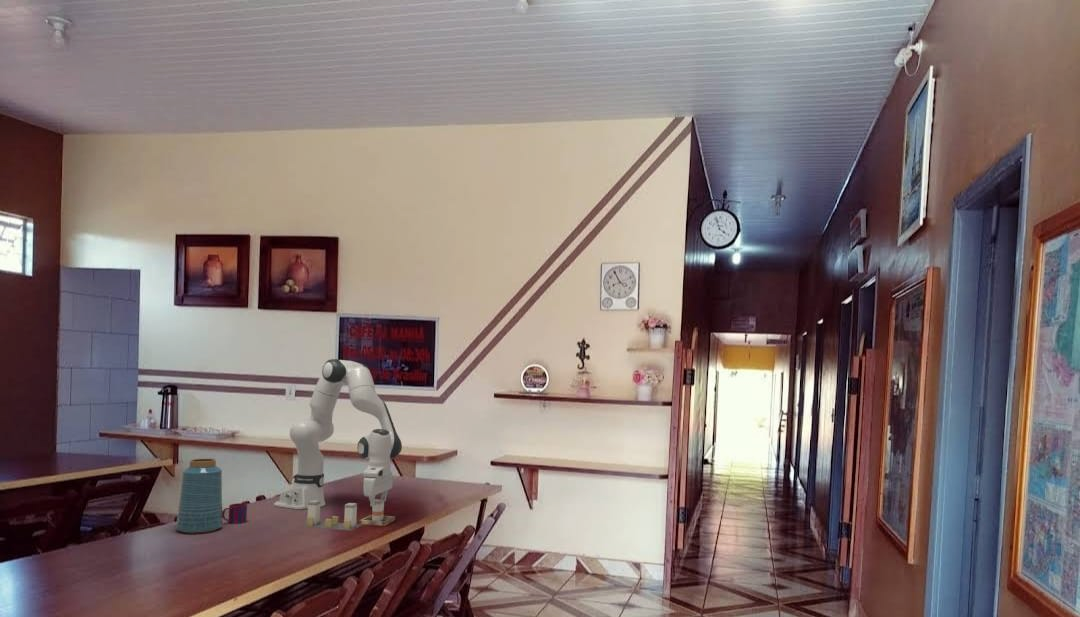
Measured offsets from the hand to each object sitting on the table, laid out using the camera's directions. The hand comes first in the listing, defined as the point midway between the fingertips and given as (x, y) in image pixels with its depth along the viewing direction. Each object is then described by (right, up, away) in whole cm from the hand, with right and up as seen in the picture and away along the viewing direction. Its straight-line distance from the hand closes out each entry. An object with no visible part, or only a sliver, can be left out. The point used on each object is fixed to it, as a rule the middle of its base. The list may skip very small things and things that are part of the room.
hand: (378, 503), depth 297 cm
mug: (-58, -7, -3) cm, 59 cm away
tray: (0, -8, -1) cm, 8 cm away
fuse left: (-24, -6, -7) cm, 26 cm away
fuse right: (-9, -6, -11) cm, 15 cm away
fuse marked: (0, -8, 0) cm, 8 cm away
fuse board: (-16, -7, -9) cm, 20 cm away
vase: (-66, -6, -15) cm, 68 cm away
